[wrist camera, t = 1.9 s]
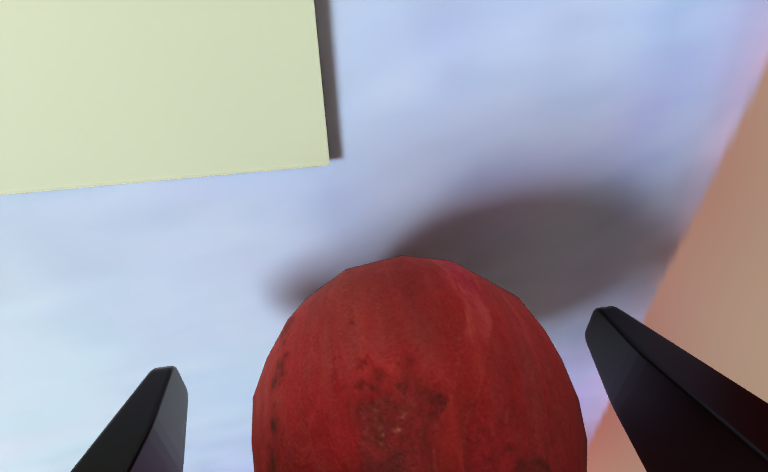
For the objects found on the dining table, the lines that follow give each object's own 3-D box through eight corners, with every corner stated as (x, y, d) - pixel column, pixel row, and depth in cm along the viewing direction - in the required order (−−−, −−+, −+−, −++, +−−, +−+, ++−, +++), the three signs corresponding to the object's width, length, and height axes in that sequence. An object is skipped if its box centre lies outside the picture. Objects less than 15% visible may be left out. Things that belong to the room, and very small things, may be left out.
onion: (218, 223, 10) (87, 860, 3) (484, 148, 10) (855, 659, 3) (307, 377, 13) (323, 820, 7) (499, 323, 13) (689, 723, 7)
